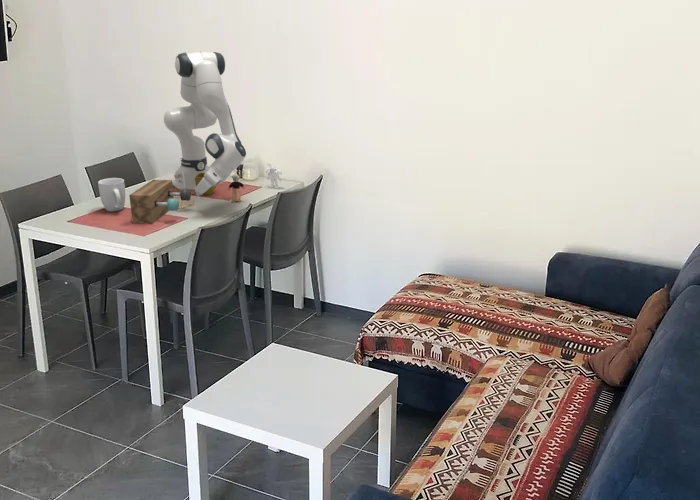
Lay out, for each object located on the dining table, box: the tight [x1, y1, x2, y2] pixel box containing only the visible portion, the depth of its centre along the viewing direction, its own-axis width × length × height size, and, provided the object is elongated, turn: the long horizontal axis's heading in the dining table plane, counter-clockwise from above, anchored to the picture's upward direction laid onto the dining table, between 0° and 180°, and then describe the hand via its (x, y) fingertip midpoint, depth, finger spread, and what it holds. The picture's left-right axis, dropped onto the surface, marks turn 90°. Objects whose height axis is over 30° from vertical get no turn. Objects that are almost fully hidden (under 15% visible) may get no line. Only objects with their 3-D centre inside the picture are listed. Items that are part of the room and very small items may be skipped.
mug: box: [97, 177, 126, 212], centre depth 332 cm, size 15×11×13 cm
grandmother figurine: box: [227, 173, 246, 203], centre depth 344 cm, size 8×4×13 cm, turn 112°
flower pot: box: [195, 173, 217, 195], centre depth 357 cm, size 9×9×9 cm
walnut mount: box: [129, 179, 175, 224], centre depth 327 cm, size 9×25×12 cm, turn 171°
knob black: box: [170, 189, 192, 202], centre depth 332 cm, size 8×5×5 cm, turn 82°
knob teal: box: [156, 198, 179, 211], centre depth 318 cm, size 8×5×5 cm, turn 81°
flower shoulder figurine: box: [264, 163, 283, 189], centre depth 365 cm, size 9×4×12 cm, turn 61°
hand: (197, 194), depth 331 cm, fingers closed
